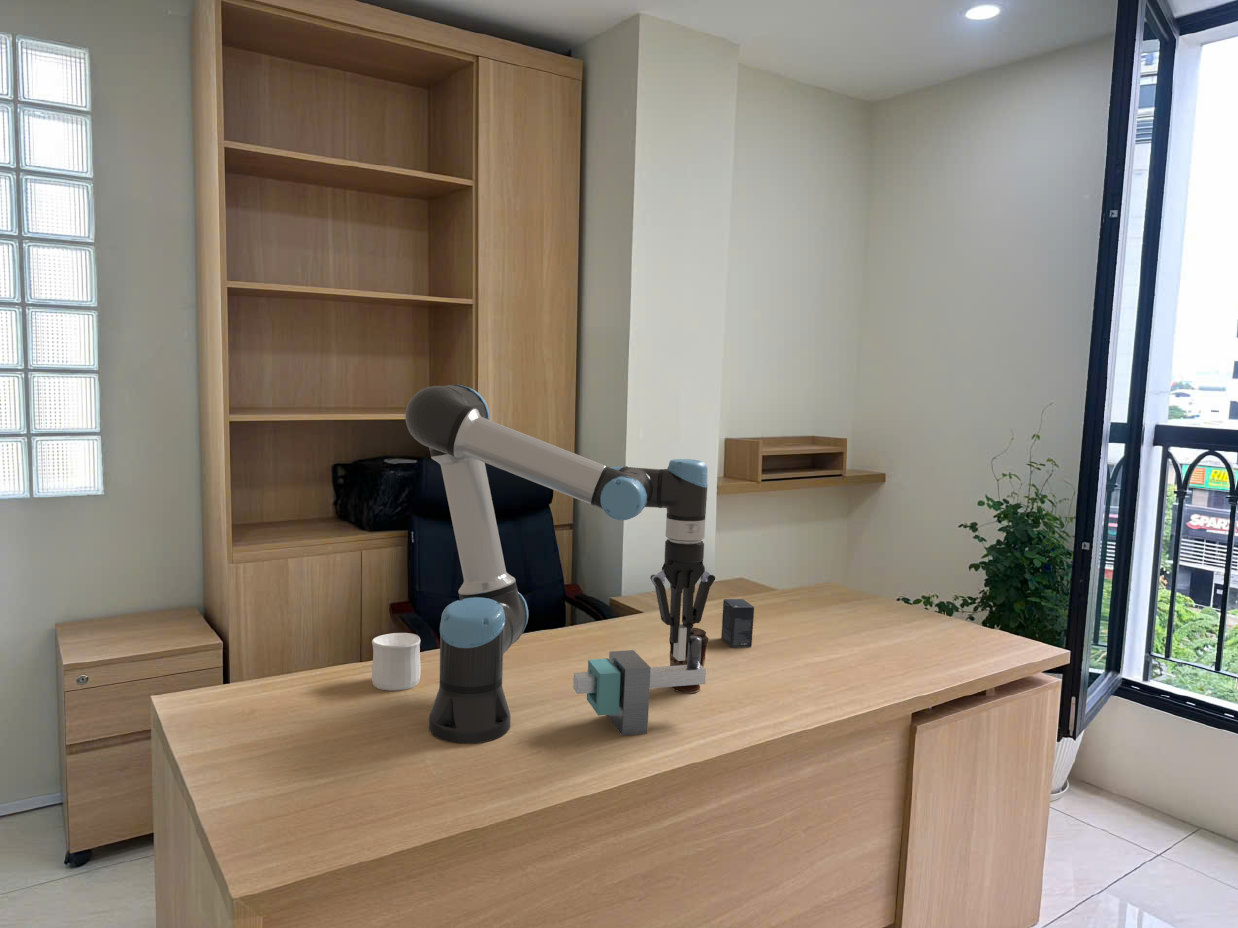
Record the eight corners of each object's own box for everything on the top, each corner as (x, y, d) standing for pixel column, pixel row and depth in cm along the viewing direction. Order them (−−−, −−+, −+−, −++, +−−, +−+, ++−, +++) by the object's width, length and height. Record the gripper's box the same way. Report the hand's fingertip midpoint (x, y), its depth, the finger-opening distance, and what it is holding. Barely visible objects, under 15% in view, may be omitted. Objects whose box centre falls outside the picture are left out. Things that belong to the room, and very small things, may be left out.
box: (752, 647, 216) (754, 606, 215) (730, 648, 214) (733, 607, 213) (741, 637, 223) (743, 598, 222) (720, 638, 222) (722, 598, 221)
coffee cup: (693, 699, 180) (696, 639, 178) (659, 690, 184) (662, 631, 183) (711, 687, 187) (715, 629, 186) (678, 678, 192) (681, 622, 190)
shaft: (577, 694, 160) (579, 647, 159) (573, 688, 163) (575, 642, 162) (704, 684, 168) (707, 639, 167) (698, 678, 171) (701, 634, 170)
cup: (429, 684, 182) (430, 639, 181) (388, 696, 174) (388, 649, 173) (404, 672, 188) (404, 629, 187) (363, 683, 181) (363, 638, 180)
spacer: (598, 715, 159) (600, 674, 158) (586, 699, 167) (588, 659, 166) (618, 713, 161) (620, 672, 160) (606, 697, 168) (608, 658, 167)
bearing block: (622, 736, 160) (625, 669, 159) (606, 715, 170) (609, 651, 168) (647, 733, 162) (650, 667, 160) (630, 713, 171) (633, 650, 170)
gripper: (659, 544, 159) (654, 667, 162) (723, 543, 163) (717, 662, 166) (646, 536, 166) (641, 654, 169) (708, 535, 170) (702, 650, 173)
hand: (679, 658), depth 167 cm, fingers closed
